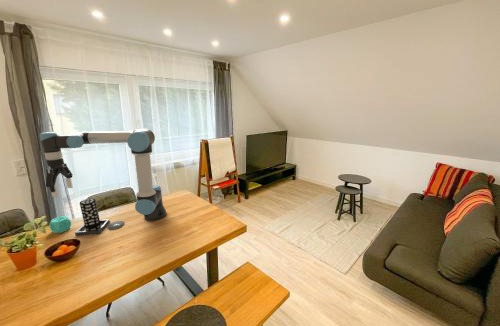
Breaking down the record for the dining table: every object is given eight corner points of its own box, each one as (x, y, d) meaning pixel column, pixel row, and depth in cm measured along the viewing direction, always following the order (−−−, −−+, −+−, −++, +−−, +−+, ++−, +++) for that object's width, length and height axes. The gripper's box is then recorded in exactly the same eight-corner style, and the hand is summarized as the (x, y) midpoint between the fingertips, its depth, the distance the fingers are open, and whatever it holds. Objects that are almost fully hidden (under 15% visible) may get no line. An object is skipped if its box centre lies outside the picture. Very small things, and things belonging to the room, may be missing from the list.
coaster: (126, 221, 154) (126, 220, 154) (121, 228, 144) (121, 228, 144) (111, 222, 152) (111, 221, 152) (104, 230, 143) (104, 229, 142)
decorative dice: (58, 234, 138) (55, 223, 136) (50, 232, 141) (47, 221, 139) (72, 227, 145) (69, 217, 143) (64, 225, 148) (61, 215, 146)
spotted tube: (93, 233, 140) (87, 204, 134) (82, 231, 141) (76, 203, 136) (104, 226, 147) (98, 199, 142) (93, 224, 149) (88, 198, 144)
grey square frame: (109, 222, 152) (109, 219, 151) (100, 233, 139) (99, 230, 138) (87, 224, 150) (87, 220, 149) (75, 236, 136) (74, 232, 136)
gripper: (61, 154, 139) (69, 185, 145) (30, 164, 116) (41, 201, 121) (74, 153, 140) (81, 184, 146) (46, 164, 117) (56, 200, 123)
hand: (63, 192), depth 134 cm, fingers open, 13 cm apart
